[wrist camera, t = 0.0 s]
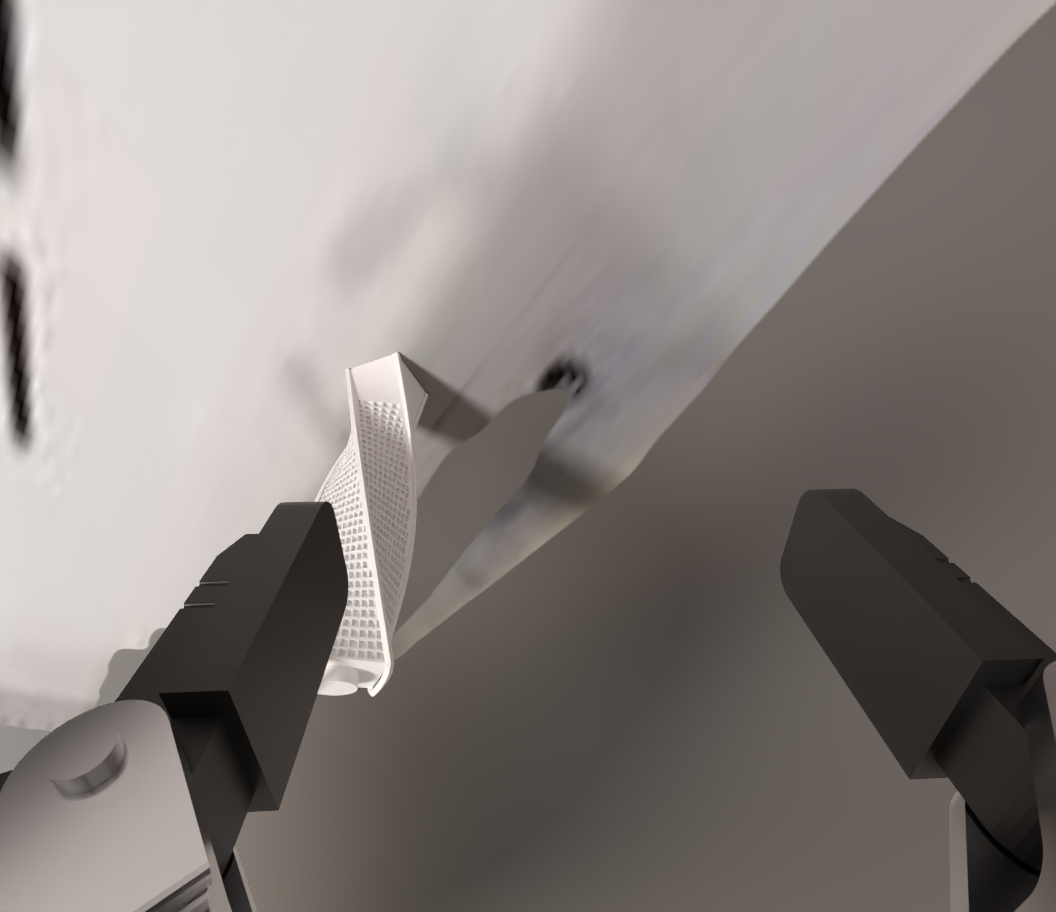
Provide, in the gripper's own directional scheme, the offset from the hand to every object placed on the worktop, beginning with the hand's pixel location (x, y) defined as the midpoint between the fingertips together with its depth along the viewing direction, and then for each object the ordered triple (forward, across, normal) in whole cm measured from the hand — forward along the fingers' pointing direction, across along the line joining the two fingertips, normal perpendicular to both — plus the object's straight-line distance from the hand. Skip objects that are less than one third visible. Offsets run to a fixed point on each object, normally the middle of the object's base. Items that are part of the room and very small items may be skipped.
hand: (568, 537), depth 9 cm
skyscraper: (+38, +11, +12) cm, 42 cm away
